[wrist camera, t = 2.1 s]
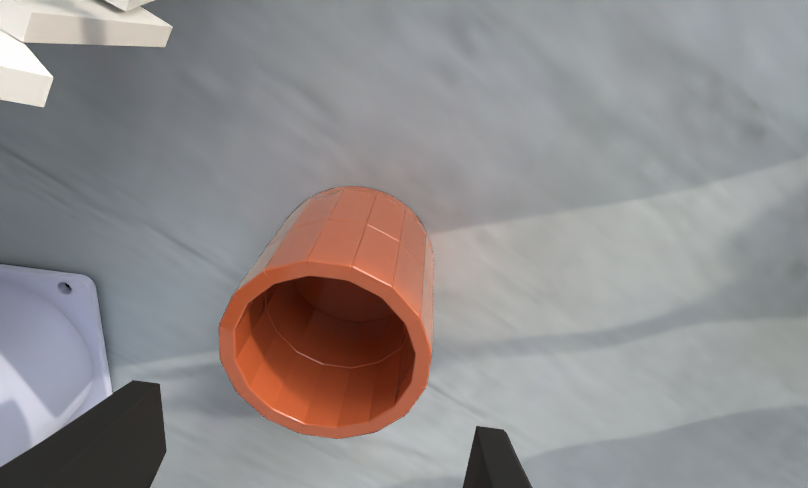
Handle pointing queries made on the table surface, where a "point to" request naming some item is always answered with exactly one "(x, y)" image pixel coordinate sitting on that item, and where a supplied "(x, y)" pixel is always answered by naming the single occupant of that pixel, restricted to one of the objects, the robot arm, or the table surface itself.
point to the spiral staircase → (66, 37)
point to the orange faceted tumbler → (335, 317)
